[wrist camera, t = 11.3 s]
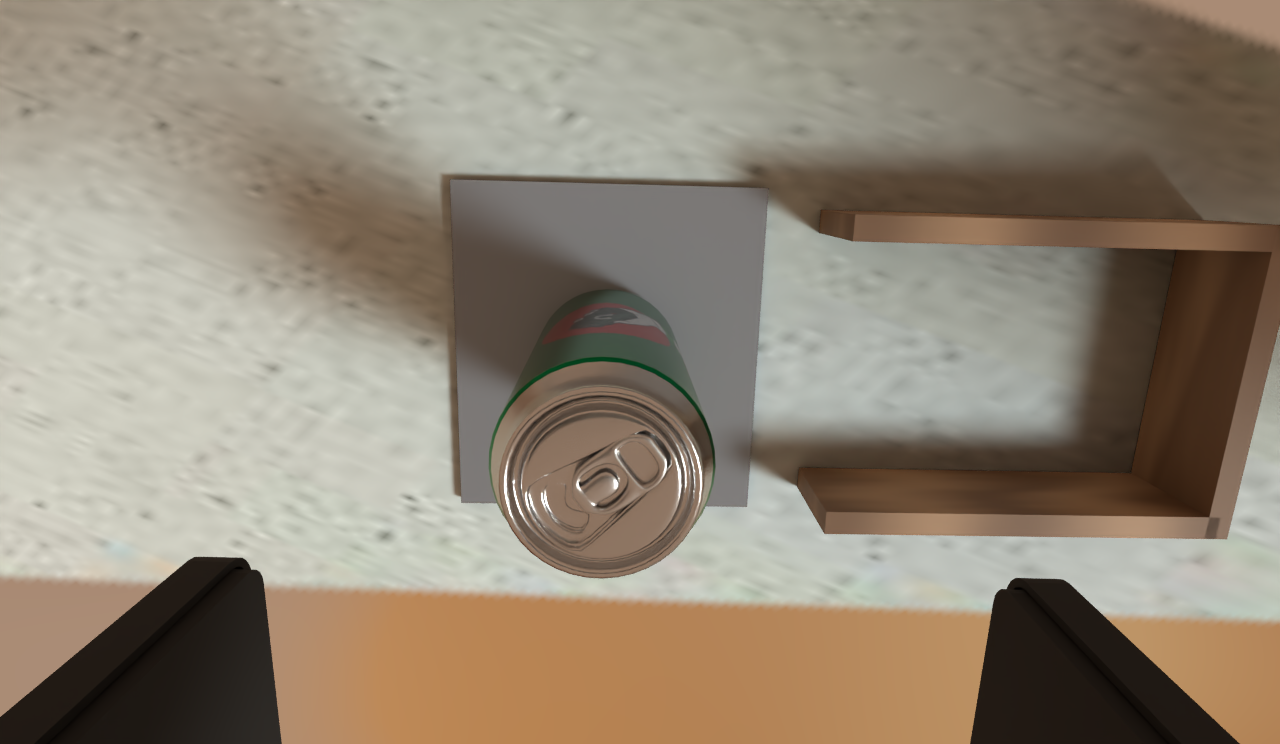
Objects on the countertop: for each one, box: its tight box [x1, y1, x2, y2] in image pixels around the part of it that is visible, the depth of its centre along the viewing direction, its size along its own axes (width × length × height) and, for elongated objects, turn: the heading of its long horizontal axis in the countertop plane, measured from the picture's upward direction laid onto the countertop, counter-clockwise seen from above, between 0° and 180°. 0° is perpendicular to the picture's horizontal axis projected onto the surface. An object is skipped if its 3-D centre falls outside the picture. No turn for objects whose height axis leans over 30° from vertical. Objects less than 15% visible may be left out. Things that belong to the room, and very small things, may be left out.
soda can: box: [488, 289, 716, 578], centre depth 21 cm, size 5×5×12 cm
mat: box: [450, 179, 769, 507], centre depth 27 cm, size 11×12×1 cm
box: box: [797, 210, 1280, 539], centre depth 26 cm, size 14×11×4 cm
